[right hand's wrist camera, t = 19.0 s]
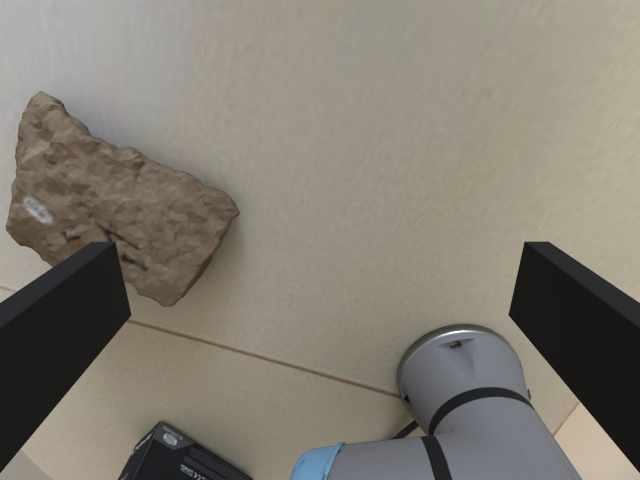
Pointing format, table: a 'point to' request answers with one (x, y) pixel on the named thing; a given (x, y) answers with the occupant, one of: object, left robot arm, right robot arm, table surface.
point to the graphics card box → (175, 459)
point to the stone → (111, 204)
